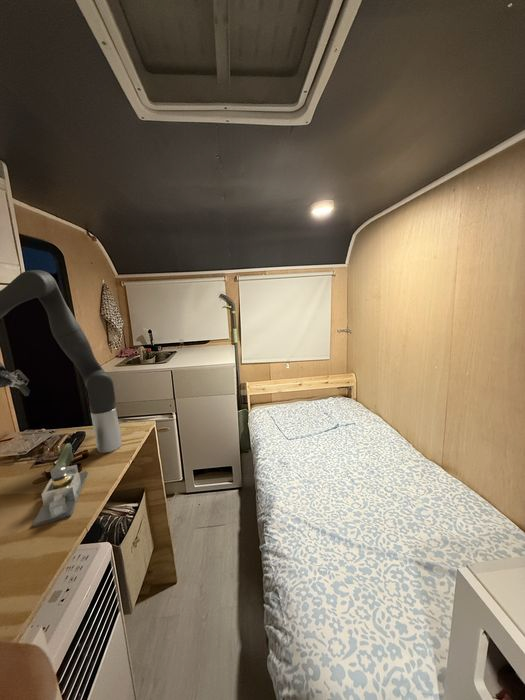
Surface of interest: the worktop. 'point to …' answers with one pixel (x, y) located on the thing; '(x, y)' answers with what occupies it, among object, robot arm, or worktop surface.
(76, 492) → the base
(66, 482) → the grey cylinder with band
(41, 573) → the worktop surface
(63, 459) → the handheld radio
